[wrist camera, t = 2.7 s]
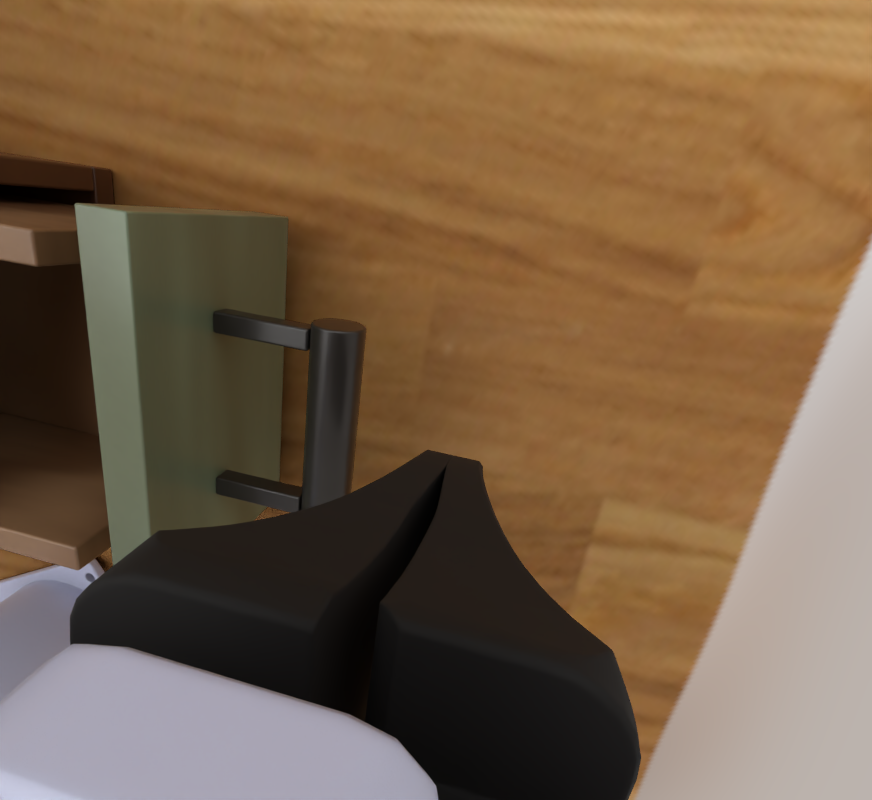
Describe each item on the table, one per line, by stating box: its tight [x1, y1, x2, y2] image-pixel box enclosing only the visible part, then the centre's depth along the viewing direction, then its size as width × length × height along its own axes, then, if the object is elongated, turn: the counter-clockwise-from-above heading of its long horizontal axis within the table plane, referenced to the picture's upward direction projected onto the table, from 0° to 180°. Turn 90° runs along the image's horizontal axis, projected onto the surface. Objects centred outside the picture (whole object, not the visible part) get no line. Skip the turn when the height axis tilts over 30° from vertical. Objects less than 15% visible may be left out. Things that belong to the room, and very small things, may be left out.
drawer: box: [0, 193, 366, 570], centre depth 15 cm, size 17×10×7 cm, turn 82°
